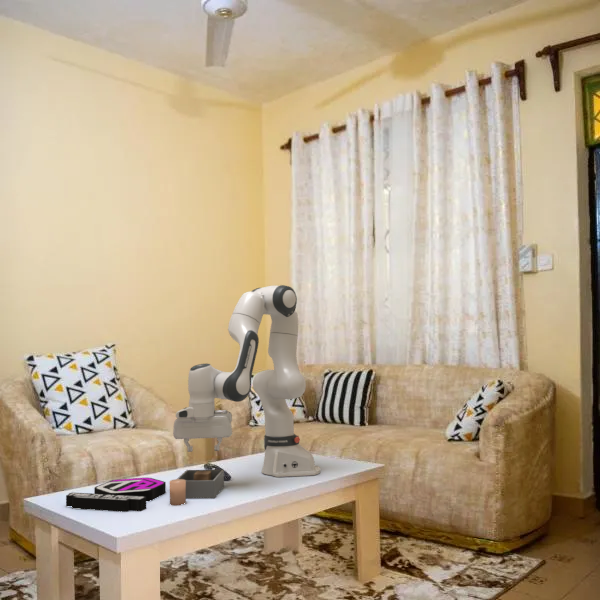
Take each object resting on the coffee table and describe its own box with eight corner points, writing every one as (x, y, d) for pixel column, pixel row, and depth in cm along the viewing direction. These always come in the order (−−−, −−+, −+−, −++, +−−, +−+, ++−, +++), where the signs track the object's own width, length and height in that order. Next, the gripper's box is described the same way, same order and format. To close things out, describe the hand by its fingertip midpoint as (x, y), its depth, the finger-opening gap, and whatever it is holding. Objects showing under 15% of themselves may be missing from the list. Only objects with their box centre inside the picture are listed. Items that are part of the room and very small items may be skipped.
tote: (223, 485, 225) (223, 469, 225) (214, 498, 208) (214, 480, 208) (186, 486, 226) (186, 469, 226) (174, 498, 209) (174, 481, 209)
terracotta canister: (187, 501, 205) (187, 479, 206) (183, 505, 200) (183, 482, 201) (172, 501, 206) (171, 479, 206) (168, 505, 201) (167, 482, 201)
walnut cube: (211, 485, 223) (211, 471, 224) (208, 488, 218) (208, 474, 219) (197, 485, 224) (197, 471, 224) (193, 489, 219) (193, 474, 219)
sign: (138, 514, 193) (182, 490, 222) (138, 501, 193) (182, 479, 222) (60, 509, 200) (113, 486, 229) (60, 496, 200) (113, 476, 229)
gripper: (233, 408, 225) (234, 448, 225) (175, 410, 226) (177, 450, 226) (230, 411, 219) (231, 451, 218) (171, 413, 220) (172, 453, 220)
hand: (203, 451), depth 222 cm, fingers open, 8 cm apart
